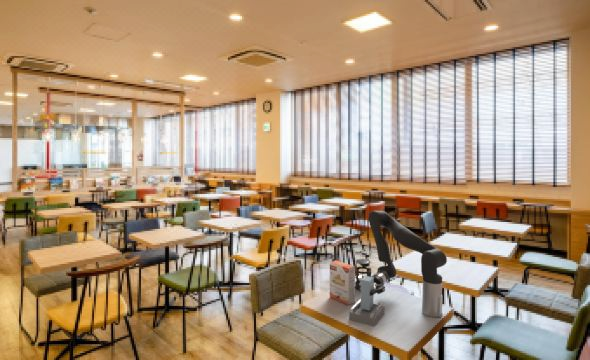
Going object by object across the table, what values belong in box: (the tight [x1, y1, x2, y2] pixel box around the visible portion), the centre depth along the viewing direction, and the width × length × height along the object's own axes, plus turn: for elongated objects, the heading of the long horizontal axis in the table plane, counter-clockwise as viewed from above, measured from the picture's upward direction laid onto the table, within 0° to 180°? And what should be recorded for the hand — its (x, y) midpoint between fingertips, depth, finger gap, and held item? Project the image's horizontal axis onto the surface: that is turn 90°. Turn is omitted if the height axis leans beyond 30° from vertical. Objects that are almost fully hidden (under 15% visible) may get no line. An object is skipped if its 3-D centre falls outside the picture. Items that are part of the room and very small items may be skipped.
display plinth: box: [348, 298, 385, 327], centre depth 177 cm, size 13×15×6 cm
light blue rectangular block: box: [360, 275, 374, 310], centre depth 176 cm, size 4×6×15 cm
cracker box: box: [329, 260, 356, 306], centre depth 196 cm, size 14×6×21 cm, turn 42°
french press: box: [355, 250, 372, 291], centre depth 212 cm, size 12×9×23 cm
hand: (365, 292), depth 174 cm, fingers open, 4 cm apart
